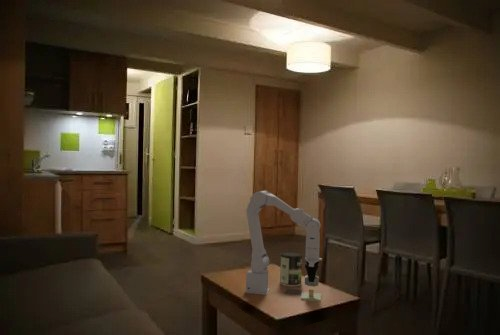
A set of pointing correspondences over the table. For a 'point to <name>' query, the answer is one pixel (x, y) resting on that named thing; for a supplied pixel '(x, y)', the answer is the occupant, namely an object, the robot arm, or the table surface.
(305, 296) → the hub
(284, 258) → the coffee can
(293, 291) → the mat
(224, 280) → the table surface
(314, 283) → the ring
